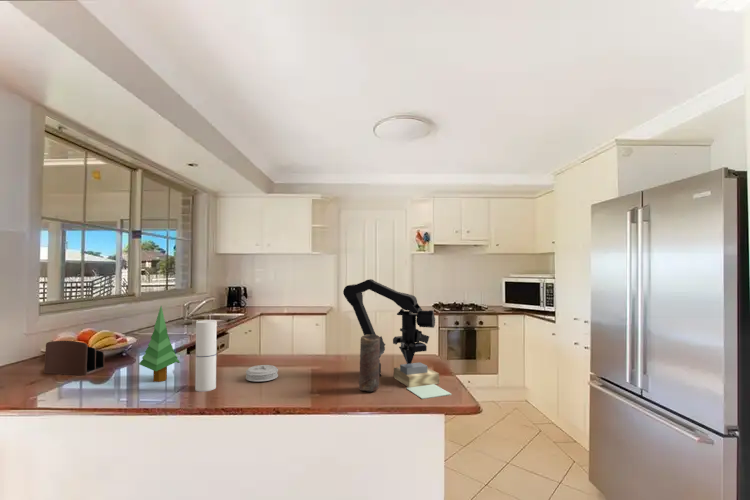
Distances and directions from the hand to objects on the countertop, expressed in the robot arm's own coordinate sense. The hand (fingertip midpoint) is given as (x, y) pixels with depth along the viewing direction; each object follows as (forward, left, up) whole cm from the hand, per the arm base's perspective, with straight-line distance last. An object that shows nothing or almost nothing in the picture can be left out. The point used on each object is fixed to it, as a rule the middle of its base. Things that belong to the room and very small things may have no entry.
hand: (409, 365), depth 163 cm
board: (+1, -3, -6) cm, 7 cm away
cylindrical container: (-76, +18, -6) cm, 78 cm away
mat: (-1, -17, -6) cm, 18 cm away
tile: (0, -4, -2) cm, 4 cm away
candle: (-20, -7, -6) cm, 22 cm away
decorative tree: (-93, +36, -6) cm, 100 cm away
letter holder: (-129, +64, -6) cm, 144 cm away
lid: (-55, +23, -6) cm, 60 cm away
